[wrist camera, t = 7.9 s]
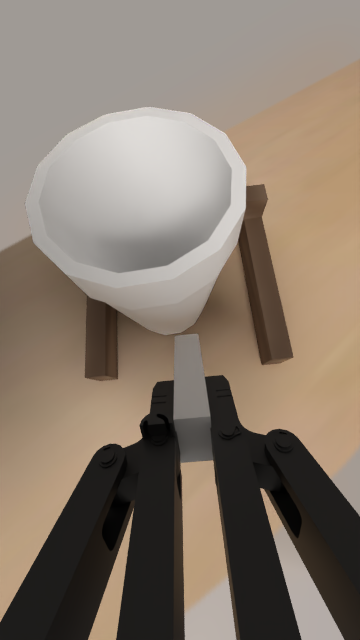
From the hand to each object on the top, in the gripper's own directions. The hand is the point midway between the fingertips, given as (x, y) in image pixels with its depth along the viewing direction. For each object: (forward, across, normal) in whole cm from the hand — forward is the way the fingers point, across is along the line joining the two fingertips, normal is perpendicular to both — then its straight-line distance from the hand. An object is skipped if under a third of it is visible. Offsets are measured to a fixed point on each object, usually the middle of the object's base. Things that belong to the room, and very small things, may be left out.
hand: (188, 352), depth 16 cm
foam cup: (+8, -1, 0) cm, 8 cm away
